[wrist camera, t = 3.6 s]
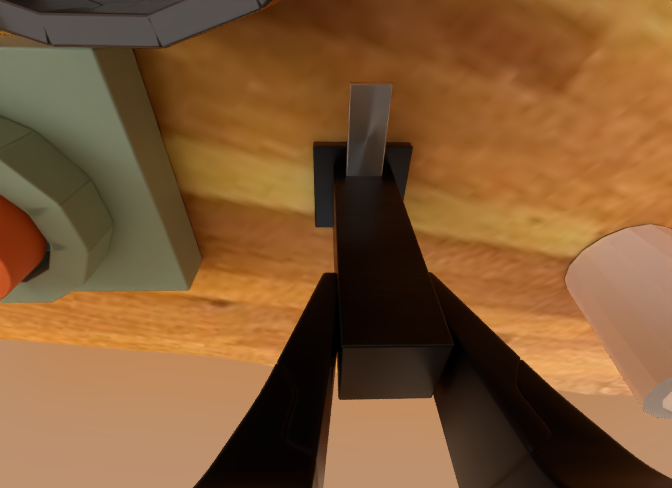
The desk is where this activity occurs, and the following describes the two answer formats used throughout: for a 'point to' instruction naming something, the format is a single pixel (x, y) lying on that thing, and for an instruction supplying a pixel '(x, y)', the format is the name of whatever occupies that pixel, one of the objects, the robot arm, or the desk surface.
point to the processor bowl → (120, 20)
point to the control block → (90, 173)
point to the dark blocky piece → (377, 259)
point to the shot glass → (631, 308)
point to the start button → (17, 246)
